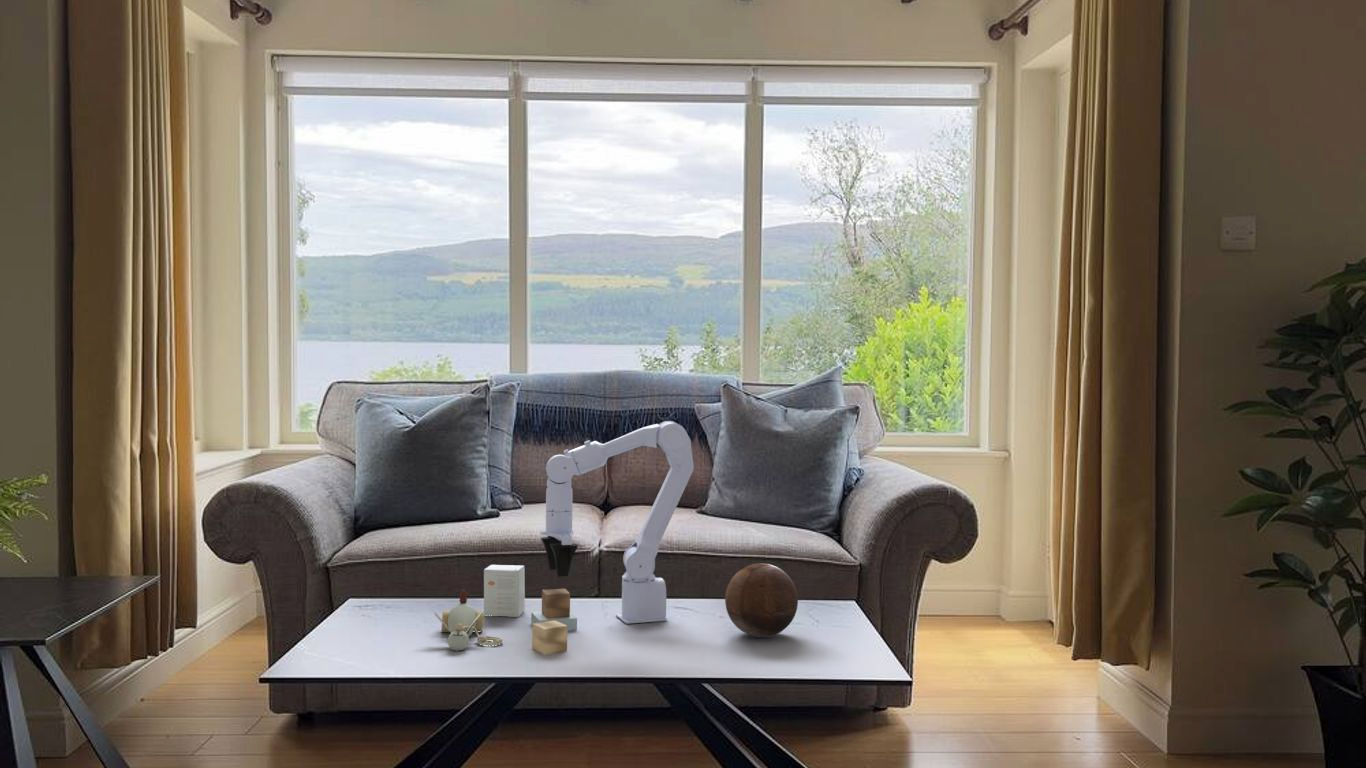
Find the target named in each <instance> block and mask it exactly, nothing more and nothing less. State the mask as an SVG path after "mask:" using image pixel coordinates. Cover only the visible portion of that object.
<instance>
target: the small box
mask: <svg viewBox="0 0 1366 768" xmlns="http://www.w3.org/2000/svg"><path fill="white" fill-rule="evenodd" d="M525 573H526V572H525V565H513V564H511V565H509V564H490V565H489V566H487V567H486V568H484V569H483V609H484V611H483V612H484V615H488V616H487V617H492V616H508V617H507V618H519V617H521V615H523V613H524V612H525V609H526V603H525V602H526V599H525V598H526V595H525V593H526V591H525V590H526V589H525V582H526V581H525V579H526V578H525V576H526V575H525ZM489 615H490V616H489ZM491 615H492V616H491ZM509 616H510V617H509Z"/></svg>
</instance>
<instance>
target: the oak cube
mask: <svg viewBox="0 0 1366 768" xmlns="http://www.w3.org/2000/svg"><path fill="white" fill-rule="evenodd" d="M531 625H532V630H531V631H532V632H531V634H532V635H531V636H532V637H531V638H532V639H531V640H532V641H531V644H532V645H531V649H532V650H534V649H535V650H534V651H536V652H539V653H540V654H543V655H544V656H545V655H551V654H555V653H556V654H558V653H562V652H567V651H568V631H567V625H564V624H562V623H560V622H558V621H555V620H554V621H547V622H541V623H534V624H531Z"/></svg>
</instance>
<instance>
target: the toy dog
mask: <svg viewBox="0 0 1366 768" xmlns="http://www.w3.org/2000/svg"><path fill="white" fill-rule="evenodd" d="M467 602H468V597H467V590H466V589H462V590H461V592H460V596H459V603H457V604H455V605H454V606H453V607H452V608H450V610H443V611H442V617H440V616H439V614H437V613H436V612H434V616H435V617H436V618H437V619H438V620H439V621H440V623H441V629H440V630H441V631H442V632H450V634H449V635H448V638H447V645H448V647H449V648H450V649H451V650H453V651H454V650H457V651H456V652H459V651H458V650H462V651H464V650H465V649H466V648H467V646H468V645H469V642H470V638H469V637H470V636H471V635H472V634H473V631H475V633H474V634H476V637H477V639H476V641H477V645H478V644H481V645H488V646H489V645H490V646H492V645H494V646H495V645H499V644H500V645H502V644H503V640H504V638H502V637H499V636H491V635H480V634H479V633H478V631H482V632H483V629H484V628H483V626H484V617H485V616H484V608H483V609H482V610H475V608H474V607H473V606H472V605H470V604H468V603H467ZM442 632H441V633H442ZM487 640H493V642H490V641H487ZM481 645H480V646H481ZM500 645H499V646H500ZM463 649H464V650H463Z"/></svg>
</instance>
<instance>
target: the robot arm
mask: <svg viewBox="0 0 1366 768" xmlns="http://www.w3.org/2000/svg"><path fill="white" fill-rule="evenodd" d="M583 443H584V444H583V445H581V446H579V447H576V448H573V449H570V450H569V449H568V448H567V449H564V450H563V454H555V455H553V456H551V457H550V458H549V459H548V461H547V463H546V467H545V472H546V475H547V476H548V477H547V480H546V486H547V487H546V491H545V529H544V530H540V531H539V532H540V533H539V534H540V535H541V536H542V537H541V538H540V541H541V542H542V544H543V547H544V550H545V554H546V559H547V564H548V568H549V570H550V571H553V570H555V571H556V576H557V577H558V578H561V577H568V576H569V573H570V568H571V564H572V559H573V557H574V554H575V552H576V550H577V548H578V544H577V543H573V542H572V539H573V538H572V536H573V535H574V530H573V499H574V498H573V497H574V496H573V494H574V493H573V488H572V478H573V477H574V476H580V475H583V474H585V473H588V472H590V471H593V470H596V469H598V468H601V467H603V466H606V463H607V461H608V459H609V458H611V457H613V456H614V457H615V456H616V455H619V454H623V453H625V452H629V451H631V450H633V449H637V448H640V447H642V446H643V447H649V448H658V447H657V445H658V446H659V447H660V449H661V450H662V451H663V452H664V454H665V457H666V459H667V462H668V464H669V466H670V468H669V469H668V472H667V475H666V476H665V479H664V481H663V483H662V485H661V487H660V490H659V492H658V493H657V496H656V498H655V500H654V502H653V504H652V506H651V509H650V511H649V513H648V515H647V518H646V520H645V522H644V524H643V526H642V528H641V531H640V532H639V533H638V534H637V536H636V538H635V540H634V542H633V543H632V544H631V545H630V546H628V547H627V548H626V549H625V551H624V553H623V556H622V561H623V562H622V563H623V565H624V567H625V570H626V571H625V572H624V573H623V575H621V578H622V579H621V612H618V613H615V616H616V617H618V618H619V620H621V621H622V622H623V623H625V624H629V625H630V624H639V623H651V622H652V623H653V622H655V623H656V622H665V621H668V618H667V587H666V581H665V579H664V578H662V577H656V575H655V574H654V572H655V569H656V557H657V556H658V552H659V549H660V548H659V547H660V544H661V541H662V539H663V537H664V534H665V532H666V530H667V528H668V525H669V523H670V522H671V519H672V517H673V515H674V513H675V511H676V509H677V506H678V504H679V503H680V500H681V498H682V495H683V493H684V492H685V489H686V487H687V486H688V483H689V480H690V478H691V476H692V474H693V471H694V470H695V469H694V467H695V465H694V459H693V458H694V457H693V450H692V440H691V438H690V436H689V435H688V432H687V430H686V429H685V428H684V427H683V426H682V425H681V424H679V423H677V422H675V421H673V420H665V421H662V422H660V423H659V424H658V423H655V424H650V425H647V426H644V427H641V428H638V429H636V430H633V431H631V432H628V433H626V434H624V435H622V436H620V437H617V438H614V439H612V440H609V441H607V442H604V443H601V442H599V441H597V440H594V441H591V440H590V439H589V440H587V441H584V442H583Z"/></svg>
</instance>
